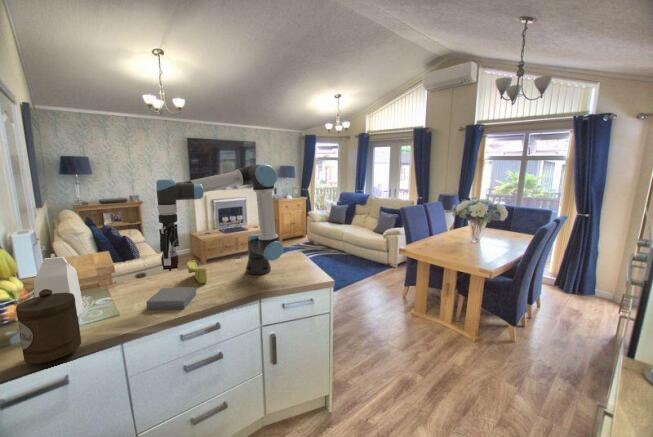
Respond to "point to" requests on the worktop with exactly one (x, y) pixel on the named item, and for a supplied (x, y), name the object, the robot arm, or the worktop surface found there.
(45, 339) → the wooden container
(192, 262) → the plastic component
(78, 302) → the milk
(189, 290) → the stand
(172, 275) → the worktop surface
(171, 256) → the mate gourd
